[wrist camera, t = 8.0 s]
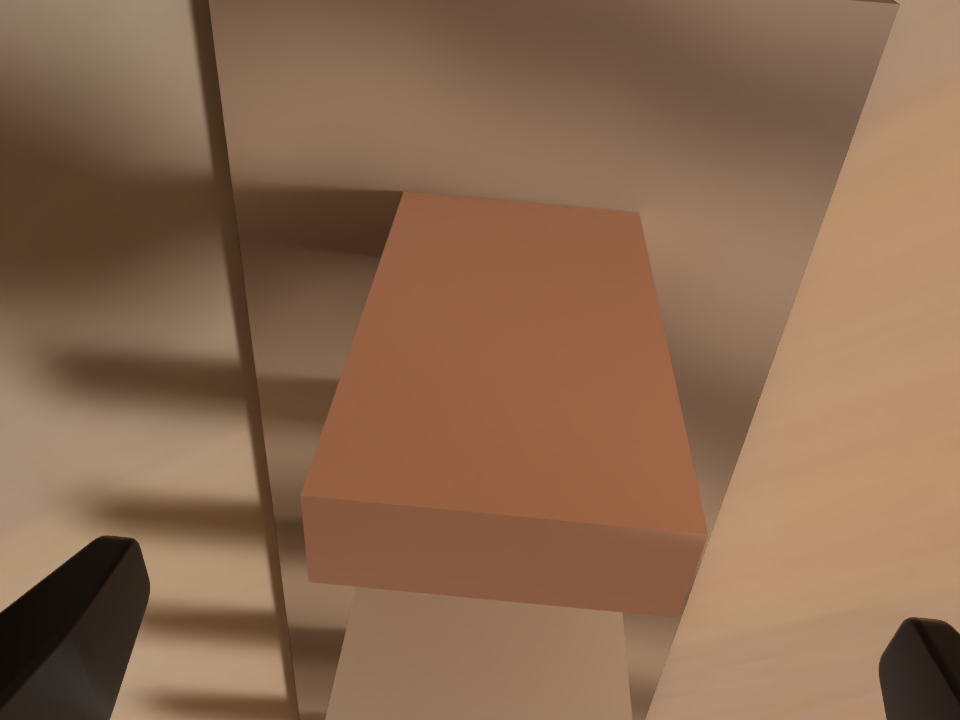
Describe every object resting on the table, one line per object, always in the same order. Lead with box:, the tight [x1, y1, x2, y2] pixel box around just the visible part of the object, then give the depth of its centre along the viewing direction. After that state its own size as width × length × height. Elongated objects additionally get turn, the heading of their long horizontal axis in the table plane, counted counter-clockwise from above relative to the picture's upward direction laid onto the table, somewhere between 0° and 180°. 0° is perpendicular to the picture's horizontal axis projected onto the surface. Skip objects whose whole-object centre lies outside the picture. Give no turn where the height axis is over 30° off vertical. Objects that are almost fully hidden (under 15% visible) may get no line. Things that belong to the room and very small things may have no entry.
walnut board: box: [209, 0, 900, 720], centre depth 23 cm, size 30×12×1 cm, turn 176°
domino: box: [325, 587, 632, 720], centre depth 16 cm, size 2×5×8 cm, turn 86°
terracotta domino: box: [300, 191, 708, 618], centre depth 13 cm, size 2×5×8 cm, turn 86°
